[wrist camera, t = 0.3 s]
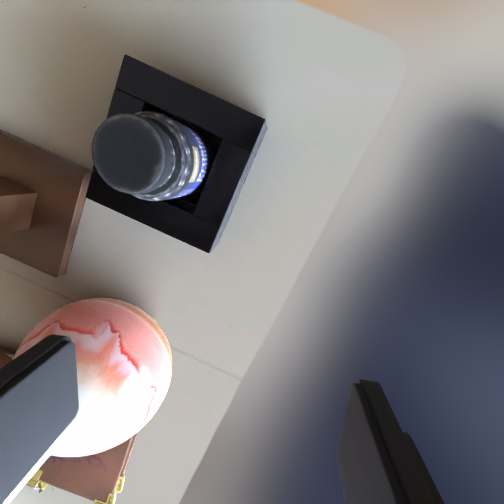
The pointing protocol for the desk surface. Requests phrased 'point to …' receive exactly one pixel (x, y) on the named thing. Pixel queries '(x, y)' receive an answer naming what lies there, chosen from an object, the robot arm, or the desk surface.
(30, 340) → the vase
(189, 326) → the desk surface
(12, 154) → the stand
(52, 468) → the book
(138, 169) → the pill bottle
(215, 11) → the desk surface
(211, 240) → the holder
